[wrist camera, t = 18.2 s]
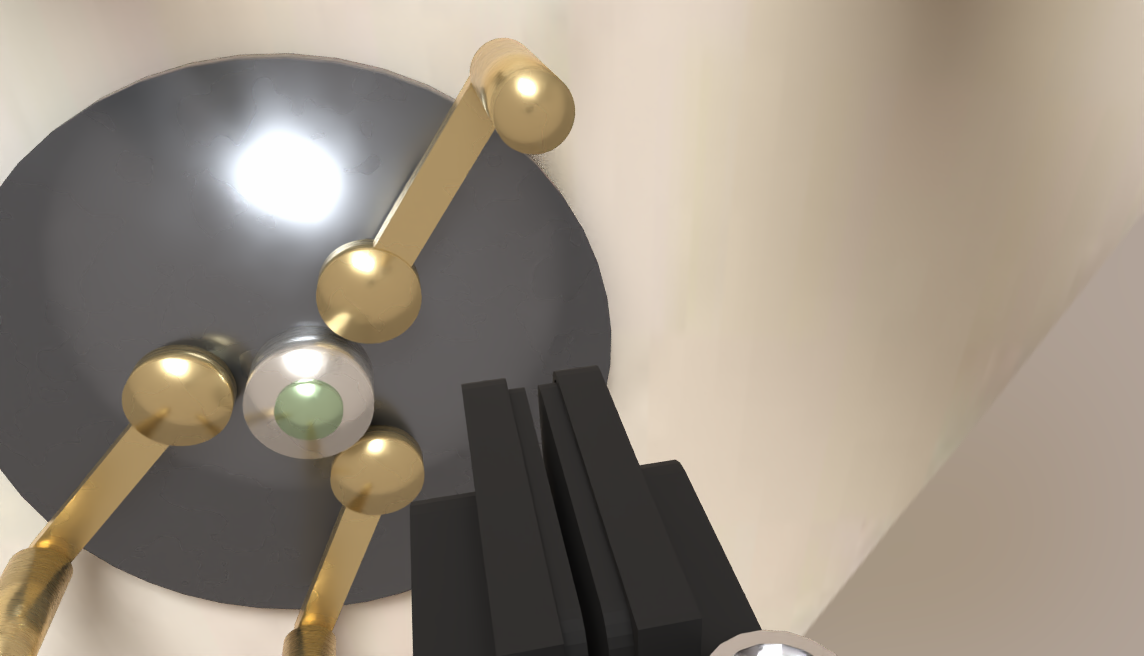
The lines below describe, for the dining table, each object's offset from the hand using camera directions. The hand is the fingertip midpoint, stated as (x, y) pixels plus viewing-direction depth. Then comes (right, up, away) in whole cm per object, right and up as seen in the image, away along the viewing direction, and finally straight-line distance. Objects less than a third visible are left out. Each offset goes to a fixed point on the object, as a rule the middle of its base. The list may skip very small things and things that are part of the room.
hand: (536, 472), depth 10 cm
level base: (-11, 0, +26) cm, 28 cm away
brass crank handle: (-10, -8, +28) cm, 31 cm away
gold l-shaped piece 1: (-18, -4, +24) cm, 31 cm away
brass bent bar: (-5, +7, +22) cm, 23 cm away
